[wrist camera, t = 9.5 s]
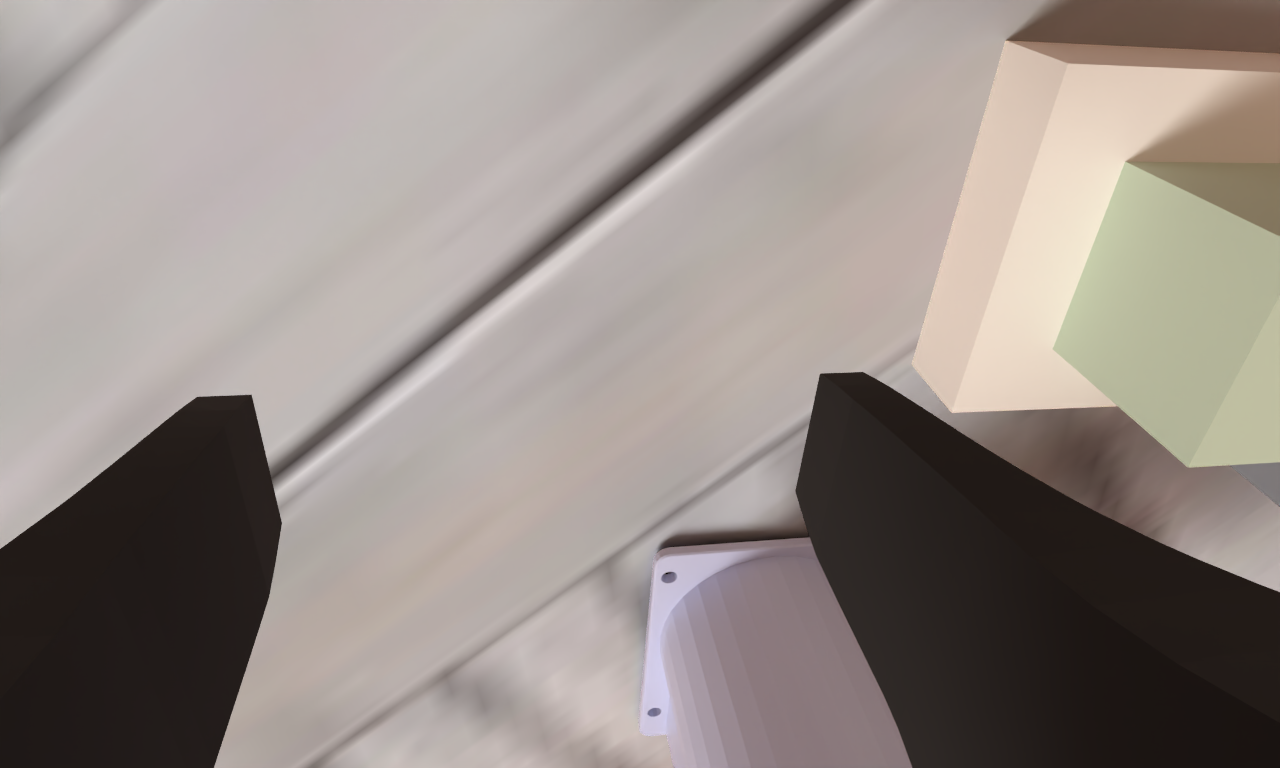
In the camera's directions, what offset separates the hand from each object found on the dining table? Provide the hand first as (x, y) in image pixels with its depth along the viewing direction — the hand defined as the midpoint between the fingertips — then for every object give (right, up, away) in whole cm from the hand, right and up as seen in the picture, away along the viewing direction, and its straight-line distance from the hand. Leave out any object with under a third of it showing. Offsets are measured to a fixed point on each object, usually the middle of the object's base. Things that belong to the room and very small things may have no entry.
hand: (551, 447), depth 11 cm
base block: (+14, +6, +12) cm, 19 cm away
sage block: (+15, +4, +10) cm, 18 cm away
